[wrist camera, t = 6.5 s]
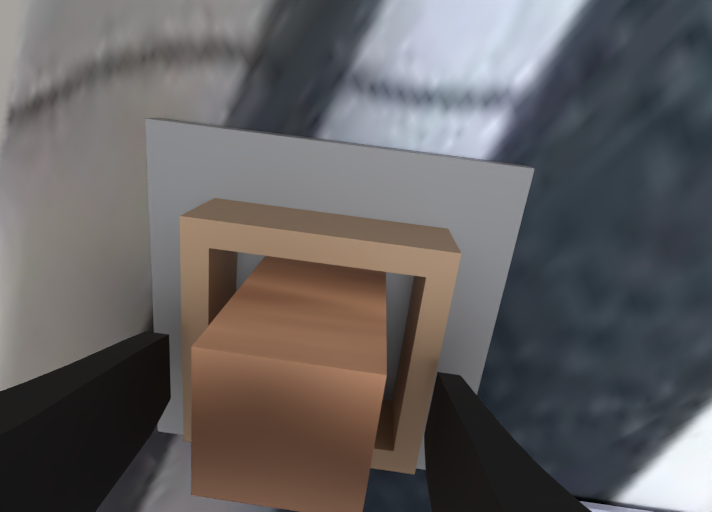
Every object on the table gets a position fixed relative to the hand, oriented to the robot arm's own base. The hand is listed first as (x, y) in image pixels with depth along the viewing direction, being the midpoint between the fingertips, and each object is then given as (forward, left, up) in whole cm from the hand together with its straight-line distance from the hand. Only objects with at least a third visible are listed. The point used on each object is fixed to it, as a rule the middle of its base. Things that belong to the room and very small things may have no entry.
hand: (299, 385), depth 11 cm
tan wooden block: (0, 0, -4) cm, 4 cm away
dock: (0, 0, -5) cm, 5 cm away
